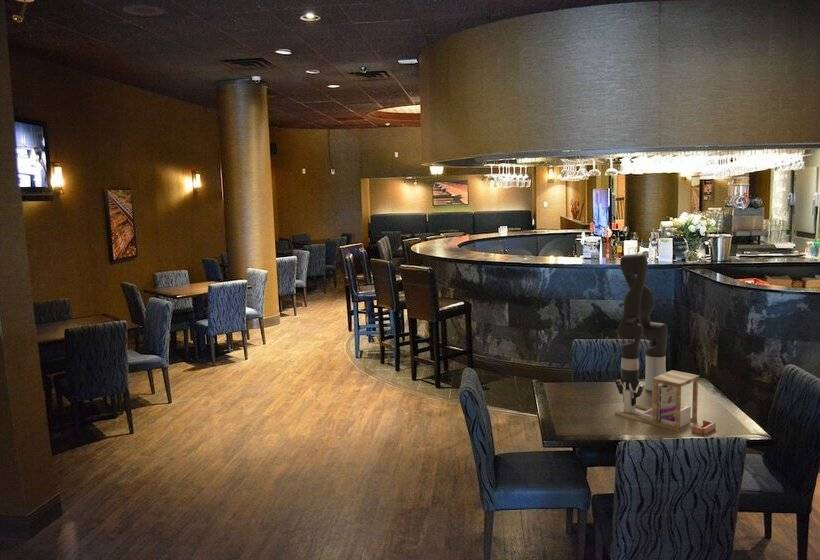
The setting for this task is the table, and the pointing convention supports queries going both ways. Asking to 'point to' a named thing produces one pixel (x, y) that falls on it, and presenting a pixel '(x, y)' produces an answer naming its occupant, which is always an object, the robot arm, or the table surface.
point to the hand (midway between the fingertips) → (629, 404)
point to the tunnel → (678, 381)
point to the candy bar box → (666, 402)
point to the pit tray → (704, 428)
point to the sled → (647, 414)
